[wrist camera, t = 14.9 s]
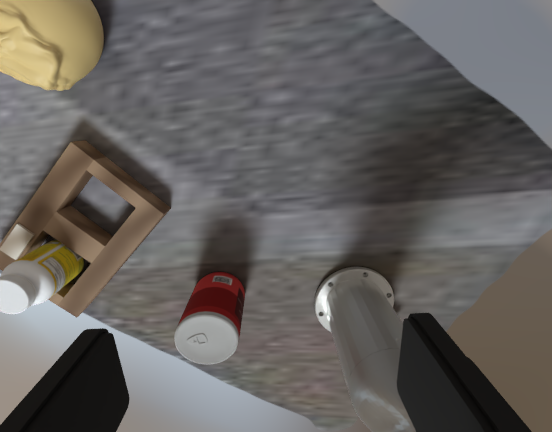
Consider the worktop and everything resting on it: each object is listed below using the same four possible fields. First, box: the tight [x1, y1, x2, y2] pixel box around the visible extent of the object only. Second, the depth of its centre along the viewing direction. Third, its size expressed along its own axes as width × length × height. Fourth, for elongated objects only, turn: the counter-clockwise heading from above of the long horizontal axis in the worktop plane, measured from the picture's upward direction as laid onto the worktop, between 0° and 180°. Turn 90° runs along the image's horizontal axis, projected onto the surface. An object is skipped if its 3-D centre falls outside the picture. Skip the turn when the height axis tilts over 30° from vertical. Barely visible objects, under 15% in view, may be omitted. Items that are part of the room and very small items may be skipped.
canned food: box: [175, 272, 245, 364], centre depth 42 cm, size 8×8×11 cm
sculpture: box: [0, 0, 104, 91], centre depth 30 cm, size 12×12×11 cm
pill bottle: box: [0, 239, 88, 314], centre depth 39 cm, size 6×6×11 cm
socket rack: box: [0, 140, 171, 317], centre depth 42 cm, size 14×22×3 cm, turn 137°
